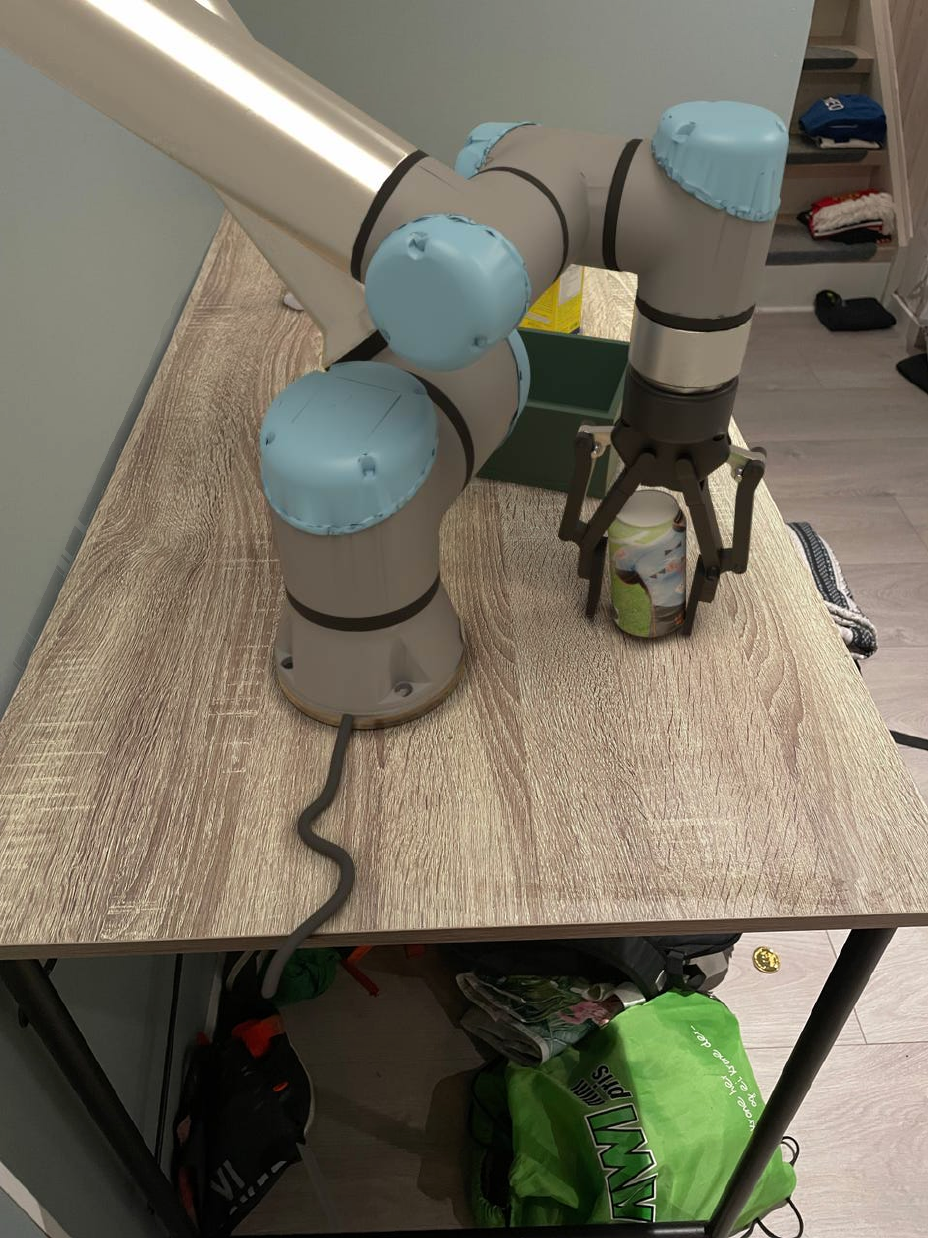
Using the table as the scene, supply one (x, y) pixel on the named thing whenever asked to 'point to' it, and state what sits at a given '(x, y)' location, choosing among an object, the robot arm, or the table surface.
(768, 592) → the table surface
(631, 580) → the beverage can
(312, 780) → the table surface
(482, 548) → the table surface
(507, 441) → the bin
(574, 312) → the supplement box
